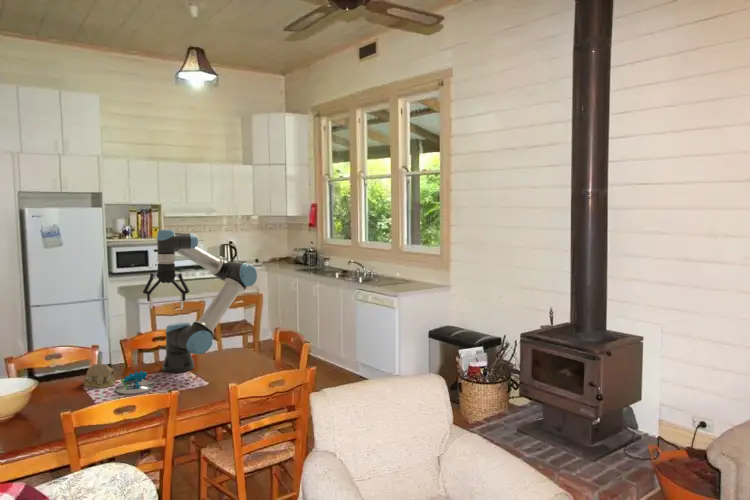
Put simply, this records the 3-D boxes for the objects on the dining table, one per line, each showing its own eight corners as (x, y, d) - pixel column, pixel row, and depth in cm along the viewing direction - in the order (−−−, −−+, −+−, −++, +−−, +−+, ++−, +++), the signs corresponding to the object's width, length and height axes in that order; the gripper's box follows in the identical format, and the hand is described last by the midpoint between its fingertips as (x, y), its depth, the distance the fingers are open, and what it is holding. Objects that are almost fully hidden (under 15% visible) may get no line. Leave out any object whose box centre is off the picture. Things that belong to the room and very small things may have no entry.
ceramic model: (120, 381, 262) (120, 360, 261) (108, 388, 251) (107, 366, 250) (91, 380, 262) (90, 359, 261) (77, 387, 251) (77, 365, 250)
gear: (145, 378, 257) (147, 367, 250) (149, 389, 254) (150, 378, 247) (120, 385, 251) (120, 374, 244) (123, 396, 248) (124, 386, 241)
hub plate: (120, 383, 257) (120, 381, 257) (157, 382, 260) (157, 379, 260) (111, 395, 242) (111, 392, 241) (150, 393, 244) (150, 391, 244)
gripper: (135, 263, 253) (136, 309, 254) (193, 263, 257) (193, 309, 259) (139, 262, 260) (140, 307, 262) (195, 262, 265) (195, 306, 266)
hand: (166, 308), depth 260 cm, fingers open, 13 cm apart
